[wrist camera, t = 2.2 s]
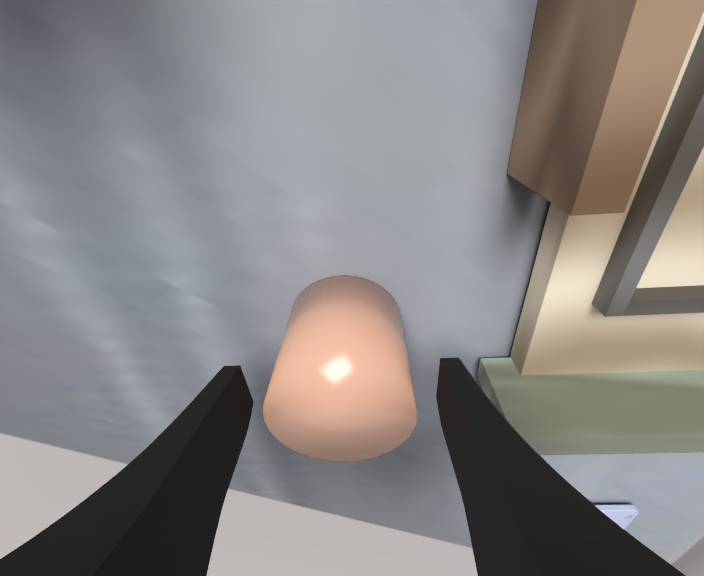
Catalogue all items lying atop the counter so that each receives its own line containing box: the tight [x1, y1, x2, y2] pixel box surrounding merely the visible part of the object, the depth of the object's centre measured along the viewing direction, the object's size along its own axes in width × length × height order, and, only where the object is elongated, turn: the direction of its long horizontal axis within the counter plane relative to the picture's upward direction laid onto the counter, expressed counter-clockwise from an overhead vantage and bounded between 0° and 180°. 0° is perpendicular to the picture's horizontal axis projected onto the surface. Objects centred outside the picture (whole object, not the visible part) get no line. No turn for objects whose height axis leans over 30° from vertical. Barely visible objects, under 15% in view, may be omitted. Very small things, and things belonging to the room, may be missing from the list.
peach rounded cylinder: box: [263, 275, 417, 462], centre depth 13 cm, size 5×5×5 cm
